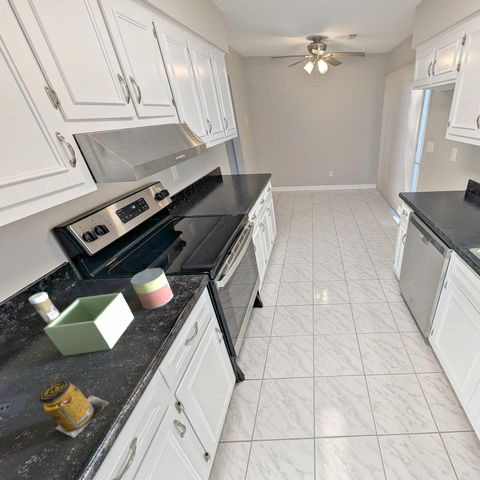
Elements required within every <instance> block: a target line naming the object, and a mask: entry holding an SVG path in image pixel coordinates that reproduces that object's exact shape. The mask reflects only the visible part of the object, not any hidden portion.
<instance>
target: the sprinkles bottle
mask: <svg viewBox="0 0 480 480" xmlns="http://www.w3.org/2000/svg"><path fill="white" fill-rule="evenodd" d="M28 301H29V303H30V304H31V305H32V306H33V307H34V308H35V310H36V312H37V313H38V314H39V316H40V317H41V319H42V320H43V321H44V322H45V323H46V324H47V325H48V324H50V323H51V322H52V321H53V320H54V319H55V318H56V317H57V316H58V315H60V314H61V312H59V310H58V309H57V307H56V306H55V305H54V303H53V302H52V300H51V299H50V298H49V295H48V294H47V293H46V292H45V291H42V292H37V293H35V294H33V295H31V296H29V298H28Z"/></svg>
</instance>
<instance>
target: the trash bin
mask: <svg viewBox="0 0 480 480" xmlns="http://www.w3.org/2000/svg"><path fill="white" fill-rule="evenodd" d="M134 318H135V317H134V315H133V313H132V311H131V309H130V307H129V305H128V303H127V301H126V300H125V298H124V296H123V293H122V292H117V293H116V292H115V293H109V294H107V293H106V294H100V295H93V296H85V297H77V298H76V299H75V300H73V302H72V303H70V305H68V306H67V307H66V308H65V309H64V310H62V312H60V315H58V316H57V317H56V318H55V319H54V320H53V321H52V322H51V323H50V324H47V325H46V326H45V327H44V328H43V331H44V332H45V334H46V335H47V336H48V337H49V339H50V340H51V342H52V343H53V344H54V346H55V347H56V348H57V349H58V351H59V352H60V353H61V354H62V357H63V356H64V357H66V356H67V357H68V356H74V355H80V354H88V353H93V352H100V351H107V350H112V349H113V348H114V346H115V344H116V343H117V342H118V340H119V339H120V338H121V337H122V335H123V333H124V332H125V331H126V330H127V329H128V327H129V325H130V324H131V323H132V322H133V320H134Z"/></svg>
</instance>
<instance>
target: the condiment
mask: <svg viewBox="0 0 480 480" xmlns="http://www.w3.org/2000/svg"><path fill="white" fill-rule="evenodd" d="M39 402H40V403H42V405H43V409H44V410H45V412H46V413H47V414H48V415H49V416H50V417H51V418H52V419H53V420H54V421H55V422H56V424H57V426H56V427H55V428H54V429H55V430H57V431H59V432H61V433H63V434H64V435H67V436H70V437H72V438H74V439H75V438H76V437H77V436H79V434H80V433H81V432H82V431H83V430H85V428H87V426H88V425H89V424H90V423H91V422H92V421H93V420H94V419H95V418H96V417H97V416H98V415H99V414H100V413H101V412H103V410H104V409H105V408H106V407H107V406H108V405H109V404H110V401H108V400H104V399H103V398H102V399H101V398H99V397H97V396H94V395H89V396H88V398H86V396H85V395H84V394H83V393H82V391H81V390H80V389H79V388H78V386H76V385H74V384H73V383H72V382H71V381H70V380H68V379H61V380H58V381H55V382H53V383H51V384H50V385H48V386H47V387H46V388H44V390H42V392H41V393H40V395H39Z"/></svg>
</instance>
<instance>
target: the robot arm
mask: <svg viewBox="0 0 480 480" xmlns="http://www.w3.org/2000/svg"><path fill="white" fill-rule="evenodd" d="M28 396H29V392H25V393H21V394H17V395H13V396H8V397H4V398H0V418H2V417H5V416H10V415H13V414H16V413H20V412H22V411H25V410H26V408H27V403H28V402H27V401H28Z"/></svg>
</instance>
